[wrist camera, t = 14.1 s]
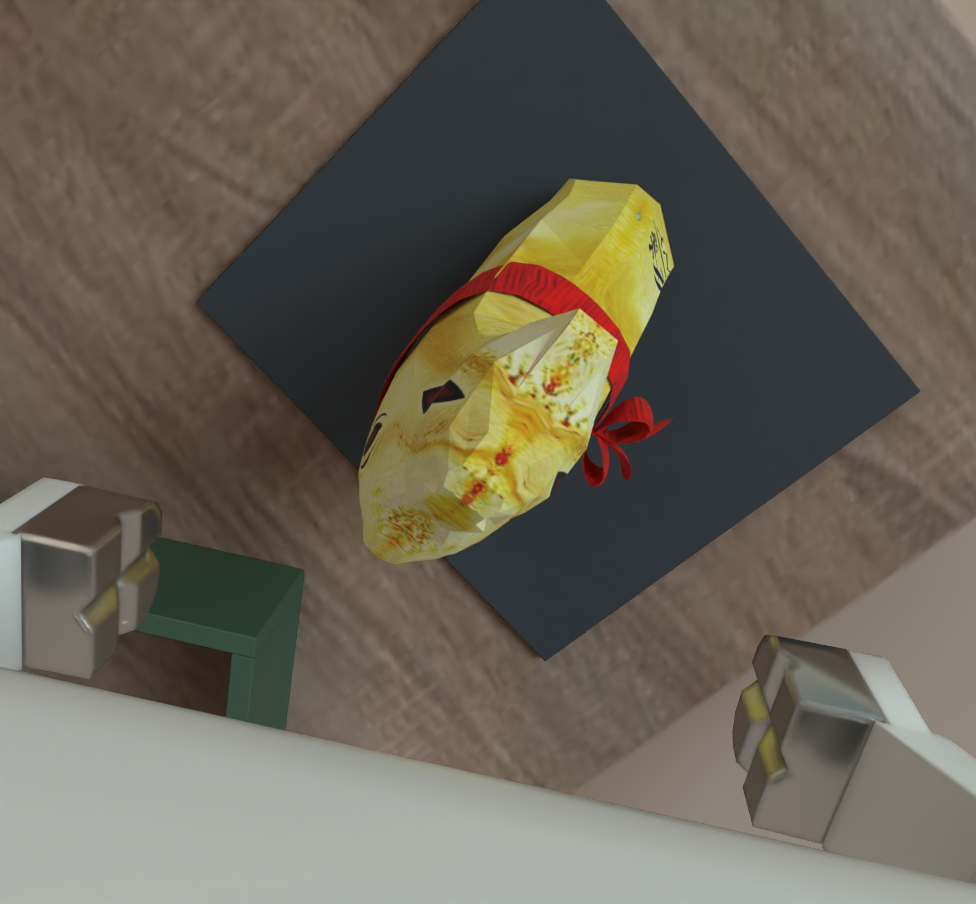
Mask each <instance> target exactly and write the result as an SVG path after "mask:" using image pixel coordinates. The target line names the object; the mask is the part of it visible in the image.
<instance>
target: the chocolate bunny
mask: <svg viewBox="0 0 976 904" xmlns="http://www.w3.org/2000/svg"><path fill="white" fill-rule="evenodd" d="M673 267H674V264H673V259H672V255H671V250H670V246H669V242H668V237H667V233H666V228H665V224H664V219H663V215H662V211H661V206H660V204H659V203H658V202H657V201H655V200H654V199H653V198H652V197H651V196H650V195H648V194H647V193H646V192H645V191H644V190H643V189H642V188H640V187H639V186H638V185H635V184H623V183H612V182H600V181H588V180H576V179H569V180H568V181H567V182H566V183H565V184H564V186H563V187H562V188H561V189H560V190H559V191H558V192H557V193H556V195H555V196H554V197H553V198H552V199H551V200H550V201H549V202H548V203H546V204H545V205H544V206H542V207H541V208H540V209H539V210H537V211H536V212H535V213H533V214H532V215H531V216H530V217H528V218H527V219H526V220H524V221H523V222H522V223H520V224H519V225H518V226H517V227H515V228H514V229H513V230H511V231H510V232H509V233H508V234H506V235H505V236H504V237H503V238H502V240H501V241H500V242H499V243H498V245H497V246H496V247H495V249H494V250H493V251H492V252H491V254H490V255H489V256H488V257H487V259H486V260H485V261H484V263H483V264H482V265H481V266H480V268H479V269H478V270H477V271H476V273H475V274H474V275H473V276H472V278H471V279H470V280H469V282H468V283H466V284H465V285H464V286H462V287H461V288H459V289H458V290H457V291H455V292H454V293H453V294H452V295H451V296H450V297H449V298H448V299H447V300H446V301H445V302H444V303H443V304H442V305H441V306H440V307H439V308H438V309H437V310H436V311H435V312H434V313H433V314H432V315H431V316H430V318H429V319H428V320H427V321H426V323H425V324H424V325H423V326H422V328H421V329H420V330H419V331H418V333H417V334H416V335H415V336H414V338H413V339H412V340H411V342H410V343H409V344H408V346H407V347H406V348H405V350H404V351H403V352H402V354H401V355H400V357H399V358H398V360H397V361H396V363H395V364H394V366H393V368H392V370H391V372H390V374H389V375H388V377H387V379H386V382H385V384H384V387H383V390H382V392H381V395H380V398H379V402H378V406H377V409H376V417H375V419H374V422H373V424H372V427H371V430H370V433H369V435H368V438H367V441H366V445H365V448H364V452H363V456H362V459H361V463H360V467H359V473H358V479H359V496H360V507H361V513H362V519H363V543H364V544H365V545H366V546H367V547H368V548H369V549H370V550H371V552H372V553H373V554H374V555H375V556H376V557H378V558H380V559H383V560H385V561H388V562H390V563H392V564H398V563H405V562H412V561H422V560H433V559H438V558H441V557H443V556H446V555H451V554H455V553H457V552H459V551H461V550H463V549H465V548H468V547H470V546H472V545H474V544H476V543H478V542H480V541H481V540H482V539H484V538H485V537H487V536H488V535H490V534H491V533H493V532H494V531H496V530H497V529H499V528H500V527H501V526H502V525H503V524H505V523H506V522H508V521H509V520H510V519H511V518H513V517H516V516H518V515H520V514H523V513H525V512H527V511H528V510H530V509H531V508H533V507H534V506H536V505H537V504H539V503H541V502H542V501H544V500H545V499H547V498H548V497H550V496H551V494H552V493H553V492H554V490H555V489H556V488H557V487H558V485H559V484H560V483H561V481H562V480H563V479H564V477H565V476H566V475H567V474H568V472H569V471H570V470H571V468H572V467H573V466H574V465H575V463H576V462H577V461H578V459H579V458H580V457H581V456H582V454H583V458H582V463H583V471H584V474H585V477H586V479H587V481H588V483H589V484H590V485H591V487H596V486H599V485H601V484H602V483H603V482H604V480H605V478H606V475H607V472H608V468H609V452H608V446H609V447H611V448H612V449H613V450H614V451H615V452H616V453H617V455H618V456H619V458H620V466H621V472H622V475H623V477H624V479H625V480H628V479H630V477H631V474H632V473H631V467H630V463H629V460H628V458H627V456H626V455H625V453H624V452H623V450H622V449H621V448H620V447H619V446H618V445H617V444H625V443H633V442H637V441H641V440H643V439H645V438H647V437H649V436H652V435H654V434H656V433H657V432H658V431H659V430H661V429H662V428H663V427H664V426H666V425H667V424H668V423H669V421H670V420H671V419H672V418H673V417H672V418H670V419H667V420H665V421H662V422H659V423H655V424H653V414H652V410H651V407H650V405H649V404H648V402H647V401H646V400H645V399H643V398H642V397H632V398H629V399H627V400H624V401H623V402H621V403H620V404H618V405H617V406H616V407H614V408H613V410H612V411H611V412H610V413H609V414H608V415H607V416H606V418H605V419H604V420H603V422H602V423H601V424H600V425H599V427H598V428H596V426H597V425H598V423H599V422H600V421H601V420H602V419H603V418H604V417H605V415H606V414H607V412H608V411H609V409H610V408H611V406H612V405H613V403H614V401H615V400H616V398H617V396H618V395H619V393H620V391H621V390H622V388H623V386H624V384H625V382H626V380H627V378H628V371H629V362H630V357H631V355H632V353H633V351H634V349H635V347H636V345H637V343H638V341H639V339H640V337H641V335H642V333H643V331H644V329H645V327H646V325H647V323H648V321H649V319H650V317H651V315H652V312H653V310H654V307H655V304H656V302H657V299H658V296H659V294H660V291H661V289H662V287H663V285H664V283H665V281H666V279H667V277H668V276H669V274H670V272H671V270H672V269H673ZM441 312H442V314H441V315H440V316H439V317H438V318H437V320H436V321H435V322H434V324H433V325H432V326H431V327H430V329H429V330H428V331H427V333H426V334H425V335H424V336H423V338H422V339H421V340H420V342H419V343H418V344H417V345H416V347H415V348H414V349H413V351H412V352H411V353H410V354H409V356H408V357H407V358H406V356H407V354H408V352H409V351H410V349H411V348H412V347H413V345H414V344H415V342H416V341H417V339H418V338H419V336H420V335H421V334H422V332H423V331H424V330H425V329H426V328H427V326H428V325H429V324H430V323H431V322H432V321H433V320H434V319H435V318H436V317H437V316H438V315H439V314H440V313H441ZM405 358H406V360H405ZM404 360H405V361H404ZM610 394H611V399H610V401H609V403H608V405H607V407H606V408H605V410H604V411H603V413H602V414H601V416H600V417H599V419H598V420H597V421H596V419H597V417H598V415H599V414H600V412H601V410H602V408H603V407H604V405H605V403H606V401H607V400H608V398H609V396H610ZM595 421H596V423H595V424H594V422H595ZM626 421H630V422H629V423H627V424H625V425H624V426H622V427H620V428H618V429H614V430H611V431H608V429H607V428H606V426H608V425H611V424H614V423H616V422H626ZM593 424H594V426H593ZM594 435H595V436H596V437H597V439H598V443H599V446H600V448H601V451H602V458H603V467H599V466H597V465H596V464H594V463H593V462H592V461H591V460H590V459H589V457H588V454H587V446H588V442H589V439H590V437H591V436H594Z"/></svg>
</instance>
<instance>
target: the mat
mask: <svg viewBox="0 0 976 904" xmlns="http://www.w3.org/2000/svg"><path fill="white" fill-rule="evenodd" d="M569 179H576V180H588V181H600V182H612V183H623V184H635V185H638V186H639V187H640V188H642V189H643V190H644V191H645V192H646V193H647V194H648V195H650V196H651V197H652V198H653V199H654V200H655V201H657V202H658V203H659V204H660V206H661V211H662V215H663V219H664V224H665V228H666V233H667V237H668V242H669V246H670V250H671V255H672V259H673V264H674V267H673V269H672V270H671V272H670V274H669V276H668V277H667V279H666V281H665V283H664V285H663V287H662V289H661V291H660V294H659V296H658V299H657V302H656V304H655V307H654V310H653V312H652V315H651V317H650V319H649V321H648V323H647V325H646V327H645V329H644V331H643V333H642V335H641V337H640V339H639V341H638V343H637V345H636V347H635V349H634V351H633V353H632V355H631V357H630V362H629V371H628V378H627V380H626V382H625V384H624V386H623V388H622V390H621V391H620V393H619V395H618V396H617V398H616V400H615V401H614V403H613V405H612V406H611V408H610V409H609V411H608V412H607V414H606V415H605V417H604V418H603V419H602V420H601V421H600V422H599V423H598V425H597V426H596V428H598V427H599V425H600V424H601V423H602V422H603V420H604V419H605V418H606V416H607V415H608V414H609V413H610V412H611V411H612V410H613V408H614V407H616V406H617V405H618V404H620V403H621V402H623V401H624V400H627V399H629V398H632V397H642V398H643V399H645V400H646V401H647V402H648V404H649V405H650V407H651V410H652V414H653V424H655V423H659V422H662V421H665V420H667V419H670V418H672V417H673V418H672V419H671V420H670V421H669V423H668V424H667V425H666V426H664V427H663V428H662V429H661V430H659V431H658V432H657V433H656V434H654V435H652V436H649V437H647V438H645V439H643V440H641V441H637V442H633V443H625V444H617V445H618V446H619V447H620V448H621V449H622V450H623V452H624V453H625V455H626V456H627V458H628V460H629V463H630V467H631V473H632V474H631V477H630V479H628V480H625V479H624V477H623V475H622V472H621V466H620V458H619V456H618V455H617V453H616V452H615V451H614V450H613V449H612V448H611V447H609V446H608V452H609V468H608V472H607V475H606V478H605V480H604V482H603V483H602V484H601V485H599V486H596V487H591V485H590V484H589V483H588V481H587V479H586V477H585V474H584V471H583V463H582V458H583V454H582V456H581V457H580V458H579V459H578V461H577V462H576V463H575V465H574V466H573V467H572V468H571V470H570V471H569V472H568V474H567V475H566V476H565V477H564V479H563V480H562V481H561V483H560V484H559V485H558V487H557V488H556V489H555V490H554V492H553V493H552V494H551V496H550V497H548V498H547V499H545V500H544V501H542V502H541V503H539V504H537V505H536V506H534V507H533V508H531V509H530V510H528V511H527V512H525V513H523V514H520V515H518V516H516V517H513V518H511V519H510V520H509V521H508V522H506V523H505V524H503V525H502V526H501V527H500V528H499V529H497V530H496V531H494V532H493V533H491V534H490V535H488V536H487V537H485V538H484V539H482V540H481V541H480V542H478V543H476V544H474V545H472V546H470V547H468V548H465V549H463V550H461V551H459V552H457V553H455V554H451V555H446V556H443V557H444V558H445V559H446V560H447V561H448V562H449V563H450V564H451V565H452V566H453V567H454V568H455V569H456V570H457V571H458V572H459V573H460V574H461V575H462V576H463V578H464V579H465V580H466V581H467V582H468V583H469V584H470V585H471V586H472V587H473V588H474V589H475V590H476V591H477V592H478V593H479V594H480V595H481V596H482V597H483V598H484V599H485V600H486V601H487V602H488V603H489V604H490V605H491V606H492V607H493V608H494V609H495V610H496V611H497V613H498V614H499V615H500V616H501V617H502V618H503V619H504V620H505V621H506V622H507V623H508V624H509V625H510V626H511V627H512V628H513V629H514V630H515V631H516V632H517V633H518V634H519V635H520V636H521V637H522V638H523V639H524V640H525V641H526V642H527V643H528V644H529V645H530V647H531V648H532V649H533V650H534V651H535V652H536V653H537V654H538V655H539V656H540V657H541V658H542V659H543V660H544V661H546V660H547V659H549V658H550V657H552V656H553V655H554V654H556V653H557V652H559V651H560V650H561V649H563V648H564V647H565V646H567V645H568V644H570V643H571V642H572V641H574V640H575V639H577V638H578V637H579V636H581V635H582V634H584V633H585V632H586V631H588V630H589V629H591V628H592V627H593V626H595V625H596V624H597V623H599V622H600V621H602V620H603V619H604V618H606V617H607V616H609V615H610V614H611V613H613V612H614V611H616V610H617V609H618V608H620V607H621V606H623V605H624V604H625V603H627V602H628V601H629V600H631V599H632V598H634V597H635V596H636V595H638V594H639V593H641V592H642V591H643V590H645V589H646V588H648V587H649V586H650V585H652V584H653V583H655V582H656V581H657V580H659V579H660V578H661V577H663V576H664V575H666V574H667V573H668V572H670V571H671V570H673V569H674V568H675V567H677V566H678V565H680V564H681V563H682V562H684V561H685V560H687V559H688V558H689V557H691V556H692V555H694V554H695V553H696V552H698V551H699V550H700V549H702V548H703V547H705V546H706V545H707V544H709V543H710V542H712V541H713V540H714V539H716V538H717V537H719V536H720V535H721V534H723V533H724V532H726V531H727V530H728V529H730V528H731V527H732V526H734V525H735V524H737V523H738V522H739V521H741V520H742V519H744V518H745V517H746V516H748V515H749V514H751V513H752V512H753V511H755V510H756V509H758V508H759V507H760V506H762V505H763V504H764V503H766V502H767V501H769V500H770V499H771V498H773V497H774V496H776V495H777V494H778V493H780V492H781V491H783V490H784V489H785V488H787V487H788V486H790V485H791V484H792V483H794V482H795V481H797V480H798V479H799V478H801V477H802V476H803V475H805V474H806V473H808V472H809V471H810V470H812V469H813V468H815V467H816V466H817V465H819V464H820V463H822V462H823V461H824V460H826V459H827V458H829V457H830V456H831V455H833V454H834V453H835V452H837V451H838V450H840V449H841V448H842V447H844V446H845V445H847V444H848V443H849V442H851V441H852V440H854V439H855V438H856V437H858V436H859V435H861V434H862V433H863V432H865V431H866V430H867V429H869V428H870V427H872V426H873V425H874V424H876V423H877V422H879V421H880V420H881V419H883V418H884V417H886V416H887V415H888V414H890V413H891V412H893V411H894V410H895V409H897V408H898V407H899V406H901V405H902V404H904V403H905V402H906V401H908V400H909V399H911V398H912V397H913V396H915V395H916V394H918V393H919V392H920V390H919V389H918V387H917V386H916V385H915V384H914V382H913V381H912V380H911V379H910V377H909V376H908V375H907V374H906V372H905V371H904V370H903V369H902V367H901V366H900V365H899V364H898V363H897V361H896V360H895V359H894V358H893V356H892V355H891V354H890V353H889V351H888V350H887V349H886V348H885V346H884V345H883V344H882V343H881V341H880V340H879V339H878V338H877V336H876V335H875V334H874V333H873V331H872V330H871V329H870V328H869V327H868V325H867V324H866V323H865V322H864V320H863V319H862V318H861V317H860V315H859V314H858V313H857V312H856V310H855V309H854V308H853V307H852V305H851V304H850V303H849V302H848V300H847V299H846V298H845V297H844V295H843V294H842V293H841V292H840V291H839V289H838V288H837V287H836V286H835V284H834V283H833V282H832V281H831V279H830V278H829V277H828V276H827V274H826V273H825V272H824V271H823V269H822V268H821V267H820V266H819V264H818V263H817V262H816V261H815V259H814V258H813V257H812V256H811V255H810V253H809V252H808V251H807V250H806V248H805V247H804V246H803V245H802V243H801V242H800V241H799V240H798V238H797V237H796V236H795V235H794V233H793V232H792V231H791V230H790V228H789V227H788V226H787V225H786V223H785V222H784V221H783V220H782V219H781V217H780V216H779V215H778V214H777V212H776V211H775V210H774V209H773V207H772V206H771V205H770V204H769V202H768V201H767V200H766V199H765V197H764V196H763V195H762V194H761V192H760V191H759V190H758V189H757V187H756V186H755V185H754V184H753V183H752V181H751V180H750V179H749V178H748V176H747V175H746V174H745V173H744V171H743V170H742V169H741V168H740V166H739V165H738V164H737V163H736V161H735V160H734V159H733V158H732V156H731V155H730V154H729V153H728V151H727V150H726V149H725V148H724V147H723V145H722V144H721V143H720V142H719V140H718V139H717V138H716V137H715V135H714V134H713V133H712V132H711V130H710V129H709V128H708V127H707V125H706V124H705V123H704V122H703V120H702V119H701V118H700V117H699V115H698V114H697V113H696V112H695V111H694V109H693V108H692V107H691V106H690V104H689V103H688V102H687V101H686V99H685V98H684V97H683V96H682V94H681V93H680V92H679V91H678V89H677V88H676V87H675V86H674V84H673V83H672V82H671V81H670V79H669V78H668V77H667V76H666V75H665V73H664V72H663V71H662V70H661V68H660V67H659V66H658V65H657V63H656V62H655V61H654V60H653V58H652V57H651V56H650V55H649V53H648V52H647V51H646V50H645V48H644V47H643V46H642V45H641V43H640V42H639V41H638V40H637V39H636V37H635V36H634V35H633V34H632V32H631V31H630V30H629V29H628V27H627V26H626V25H625V24H624V22H623V21H622V20H621V19H620V17H619V16H618V15H617V14H616V12H615V11H614V10H613V9H612V7H611V6H610V5H609V4H608V3H607V1H606V0H480V1H479V2H478V3H477V4H476V6H475V7H474V8H473V9H472V10H471V11H470V12H469V13H468V14H467V15H466V16H465V17H464V18H463V19H462V20H461V21H460V22H459V24H458V25H457V26H456V27H455V28H454V29H453V30H452V31H451V32H450V33H449V34H448V35H447V36H446V37H445V38H444V39H443V41H442V42H441V43H440V44H439V45H438V46H437V47H436V48H435V49H434V50H433V51H432V52H431V53H430V54H429V55H428V56H427V58H426V59H425V60H424V61H423V62H422V63H421V64H420V65H419V66H418V67H417V68H416V69H415V70H414V71H413V72H412V73H411V74H410V76H409V77H408V78H407V79H406V80H405V81H404V82H403V83H402V84H401V85H400V86H399V87H398V88H397V89H396V90H395V91H394V93H393V94H392V95H391V96H390V97H389V98H388V99H387V100H386V101H385V102H384V103H383V104H382V105H381V106H380V107H379V108H378V109H377V111H376V112H375V113H374V114H373V115H372V116H371V117H370V118H369V119H368V120H367V121H366V122H365V123H364V124H363V125H362V126H361V128H360V129H359V130H358V131H357V132H356V133H355V134H354V135H353V136H352V137H351V138H350V139H349V140H348V141H347V142H346V143H345V144H344V146H343V147H342V148H341V149H340V150H339V151H338V152H337V153H336V154H335V155H334V156H333V157H332V158H331V159H330V160H329V161H328V163H327V164H326V165H325V166H324V167H323V168H322V169H321V170H320V171H319V172H318V173H317V174H316V175H315V176H314V177H313V178H312V180H311V181H310V182H309V183H308V184H307V185H306V186H305V187H304V188H303V189H302V190H301V191H300V192H299V193H298V194H297V195H296V196H295V198H294V199H293V200H292V201H291V202H290V203H289V204H288V205H287V206H286V207H285V208H284V209H283V210H282V211H281V212H280V213H279V215H278V216H277V217H276V218H275V219H274V220H273V221H272V222H271V223H270V224H269V225H268V226H267V227H266V228H265V229H264V230H263V231H262V233H261V234H260V235H259V236H258V237H257V238H256V239H255V240H254V241H253V242H252V243H251V244H250V245H249V246H248V247H247V248H246V250H245V251H244V252H243V253H242V254H241V255H240V256H239V257H238V258H237V259H236V260H235V261H234V262H233V263H232V264H231V265H230V266H229V268H228V269H227V270H226V271H225V272H224V273H223V274H222V275H221V276H220V277H219V278H218V279H217V280H216V281H215V282H214V283H213V285H212V286H211V287H210V288H209V289H208V290H207V291H206V292H205V293H204V294H203V295H202V296H201V297H200V298H199V299H198V300H197V304H198V305H199V306H200V307H201V308H202V309H203V310H204V311H205V312H206V313H207V314H208V315H209V316H210V317H211V318H212V319H213V320H214V321H215V322H216V323H217V324H218V325H219V326H220V327H221V328H222V329H223V330H224V331H225V332H226V333H227V334H228V336H229V337H230V338H231V339H232V340H233V341H234V342H235V343H236V344H237V345H238V346H239V347H240V348H241V349H242V350H243V351H244V352H245V353H246V354H247V355H248V356H249V357H250V358H251V359H252V360H253V361H254V362H255V363H256V364H257V365H258V366H259V367H260V368H261V369H262V371H263V372H264V373H265V374H266V375H267V376H268V377H269V378H270V379H271V380H272V381H273V382H274V383H275V384H276V385H277V386H278V387H279V388H280V389H281V390H282V391H283V392H284V393H285V394H286V395H287V396H288V397H289V398H290V399H291V400H292V401H293V402H294V403H295V405H296V406H297V407H298V408H299V409H300V410H301V411H302V412H303V413H304V414H305V415H306V416H307V417H308V418H309V419H310V420H311V421H312V422H313V423H314V424H315V425H316V426H317V427H318V428H319V429H320V430H321V431H322V432H323V433H324V434H325V435H326V436H327V437H328V438H329V440H330V441H331V442H332V443H333V444H334V445H335V446H336V447H337V448H338V449H339V450H340V451H341V452H342V453H343V454H344V455H345V456H346V457H347V458H348V459H349V460H350V461H351V462H352V463H353V464H354V465H355V466H356V467H357V468H358V469H359V467H360V463H361V459H362V456H363V452H364V448H365V445H366V441H367V438H368V435H369V433H370V430H371V427H372V424H373V422H374V419H375V417H376V409H377V406H378V402H379V398H380V395H381V392H382V390H383V387H384V384H385V382H386V379H387V377H388V375H389V374H390V372H391V370H392V368H393V366H394V364H395V363H396V361H397V360H398V358H399V357H400V355H401V354H402V352H403V351H404V350H405V348H406V347H407V346H408V344H409V343H410V342H411V340H412V339H413V338H414V336H415V335H416V334H417V333H418V331H419V330H420V329H421V328H422V326H423V325H424V324H425V323H426V321H427V320H428V319H429V318H430V316H431V315H432V314H433V313H434V312H435V311H436V310H437V309H438V308H439V307H440V306H441V305H442V304H443V303H444V302H445V301H446V300H447V299H448V298H449V297H450V296H451V295H452V294H453V293H454V292H455V291H457V290H458V289H459V288H461V287H462V286H464V285H465V284H466V283H468V282H469V280H470V279H471V278H472V276H473V275H474V274H475V273H476V271H477V270H478V269H479V268H480V266H481V265H482V264H483V263H484V261H485V260H486V259H487V257H488V256H489V255H490V254H491V252H492V251H493V250H494V249H495V247H496V246H497V245H498V243H499V242H500V241H501V240H502V238H503V237H504V236H505V235H506V234H508V233H509V232H510V231H511V230H513V229H514V228H515V227H517V226H518V225H519V224H520V223H522V222H523V221H524V220H526V219H527V218H528V217H530V216H531V215H532V214H533V213H535V212H536V211H537V210H539V209H540V208H541V207H542V206H544V205H545V204H546V203H548V202H549V201H550V200H551V199H552V198H553V197H554V196H555V195H556V193H557V192H558V191H559V190H560V189H561V188H562V187H563V186H564V184H565V183H566V182H567V181H568V180H569ZM441 314H442V312H441V313H440V314H439V315H438V316H437V317H436V318H435V319H434V320H433V321H432V322H431V323H430V324H429V325H428V326H427V328H426V329H425V330H424V331H423V332H422V334H421V335H420V336H419V338H418V339H417V341H416V342H415V344H414V345H413V347H412V348H411V349H410V351H409V352H408V354H407V356H406V358H407V357H408V356H409V354H410V353H411V352H412V351H413V349H414V348H415V347H416V345H417V344H418V343H419V342H420V340H421V339H422V338H423V336H424V335H425V334H426V333H427V331H428V330H429V329H430V327H431V326H432V325H433V324H434V322H435V321H436V320H437V318H438V317H439V316H440V315H441ZM406 358H405V360H406ZM405 360H404V361H405ZM610 399H611V394H610V396H609V398H608V400H607V401H606V403H605V405H604V407H603V408H602V410H601V412H600V414H599V415H598V417H597V419H596V421H597V420H598V419H599V417H600V416H601V414H602V413H603V411H604V410H605V408H606V407H607V405H608V403H609V401H610ZM596 421H595V422H594V424H595V423H596ZM629 422H630V421H626V422H616V423H614V424H611V425H608V426H606V428H607V429H608V431H611V430H614V429H618V428H620V427H622V426H624V425H625V424H627V423H629ZM594 424H593V426H594ZM587 454H588V457H589V459H590V460H591V461H592V462H593V463H594V464H596V465H597V466H599V467H603V458H602V451H601V448H600V446H599V443H598V439H597V437H596V436H595V435H594V436H591V437H590V439H589V442H588V446H587Z"/></svg>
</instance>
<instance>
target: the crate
mask: <svg viewBox="0 0 976 904" xmlns="http://www.w3.org/2000/svg"><path fill="white" fill-rule="evenodd" d="M1 503H3V502H0V504H1ZM150 548H151V550H152V551H153V553H154V555H155V556H156V558H157V560H158V561H159V563H160V571H159V582H158V586H157V591H156V595H155V599H154V601H153V603H152V605H151V607H150V609H149V611H148V614H147V616H146V617H145V619H144V620H143V621H142V622H141V623H140V624H139V626H138V627H137V628H136V629H135V630H134V631H138V632H143V633H147V634H151V635H156V636H160V637H165V638H169V639H173V640H178V641H182V642H186V643H191V644H195V645H199V646H204V647H208V648H212V649H217V650H221V651H225V652H230V653H232V655H231V665H230V676H229V687H228V698H227V708H226V717H227V718H232V719H236V720H241V721H245V722H249V723H254V724H258V725H263V726H267V727H272V728H276V729H281V730H285V727H286V719H287V711H288V703H289V694H290V686H291V678H292V670H293V662H294V654H295V645H296V637H297V629H298V621H299V613H300V605H301V597H302V587H303V580H304V570H303V569H298V568H294V567H289V566H285V565H280V564H276V563H271V562H267V561H262V560H258V559H253V558H249V557H244V556H240V555H236V554H231V553H227V552H222V551H218V550H213V549H209V548H204V547H200V546H195V545H191V544H186V543H182V542H177V541H173V540H168V539H164V538H160V537H158V538H157V539H156V540H155V541H154V542H153V543H152V544H151V545H150Z"/></svg>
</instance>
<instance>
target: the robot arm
mask: <svg viewBox="0 0 976 904" xmlns="http://www.w3.org/2000/svg"><path fill="white" fill-rule="evenodd" d="M161 534H162V511H161V509H160V507H159V505H158V503H157V502H153V501H149V500H145V499H140V498H136V497H132V496H128V495H123V494H119V493H115V492H111V491H106V490H102V489H98V488H94V487H89V486H84V485H83V484H79V483H74V482H68V481H63V480H58V479H52V478H41V479H40V480H38V481H36V482H35V483H33V484H32V485H30V486H28V487H27V488H25V489H24V490H22V491H20V492H19V493H17V494H15V495H14V496H12V497H11V498H9V499H7V500H6V501H4V502H3V503H1V504H0V904H976V759H975V758H974V757H972V756H971V755H969V754H968V753H967V752H965V751H964V750H962V749H961V748H960V747H958V746H957V745H955V744H954V743H953V742H951V741H950V740H948V739H947V738H946V737H944V736H941V735H936V734H932V733H931V732H930V731H929V729H928V727H927V726H926V724H925V722H924V721H923V719H922V717H921V716H920V714H919V712H918V711H917V709H916V707H915V705H914V704H913V702H912V700H911V699H910V697H909V696H908V694H907V692H906V690H905V689H904V687H903V685H902V684H901V682H900V680H899V679H898V677H897V675H896V674H895V672H894V670H893V669H892V667H891V665H890V664H889V662H888V660H886V659H884V658H883V657H881V656H878V655H872V654H867V653H861V652H855V651H849V650H846V649H842V648H837V647H832V646H826V645H821V644H816V643H811V642H805V641H800V640H795V639H790V638H785V637H779V636H774V635H765V636H764V637H763V639H762V640H761V642H760V644H759V645H758V647H757V650H756V653H755V656H754V658H753V661H752V663H753V667H754V670H755V673H756V676H757V679H758V680H757V681H755V682H754V683H752V684H751V685H749V686H748V687H746V688H745V689H744V690H742V692H741V696H740V699H739V702H738V705H737V708H736V711H735V718H734V725H733V749H734V753H735V758H736V762H737V763H738V764H739V765H740V766H741V767H742V768H743V769H744V770H745V771H746V772H747V773H748V774H747V777H746V780H745V783H744V785H743V790H744V794H745V798H746V802H747V806H748V809H749V813H750V817H751V821H752V825H753V827H756V828H760V829H764V830H768V831H772V832H776V833H780V834H784V835H788V836H792V837H796V838H800V839H804V840H808V841H812V842H816V843H820V844H823V845H822V848H823V849H824V850H825V851H824V850H820V849H815V848H811V847H806V846H802V845H797V844H793V843H788V842H784V841H779V840H775V839H770V838H766V837H761V836H756V835H752V834H748V833H743V832H739V831H734V830H730V829H725V828H721V827H716V826H712V825H707V824H703V823H698V822H694V821H689V820H685V819H680V818H676V817H671V816H667V815H662V814H658V813H653V812H649V811H644V810H640V809H635V808H631V807H626V806H622V805H617V804H613V803H608V802H604V801H599V800H595V799H590V798H586V797H582V796H577V795H573V794H568V793H564V792H559V791H555V790H550V789H546V788H541V787H537V786H532V785H528V784H523V783H519V782H514V781H510V780H505V779H501V778H496V777H492V776H487V775H483V774H478V773H474V772H469V771H465V770H460V769H456V768H451V767H447V766H442V765H438V764H433V763H429V762H424V761H420V760H415V759H411V758H406V757H402V756H397V755H393V754H388V753H384V752H380V751H375V750H371V749H366V748H362V747H357V746H353V745H348V744H344V743H339V742H335V741H330V740H326V739H321V738H317V737H312V736H308V735H303V734H299V733H294V732H290V731H285V730H281V729H276V728H272V727H267V726H263V725H258V724H254V723H249V722H245V721H241V720H236V719H232V718H227V717H223V716H218V715H214V714H209V713H205V712H200V711H196V710H191V709H187V708H182V707H178V706H173V705H169V704H164V703H160V702H155V701H151V700H146V699H142V698H137V697H133V696H128V695H124V694H119V693H115V692H110V691H106V690H102V689H97V688H93V687H88V686H84V685H79V684H75V683H70V682H66V681H61V680H57V679H52V678H48V677H43V676H39V675H34V674H30V673H25V672H21V671H19V670H22V666H24V667H30V668H35V669H40V670H45V671H50V672H55V673H61V674H66V675H71V676H76V677H81V678H86V679H90V678H91V677H92V676H93V675H94V674H95V673H96V672H97V671H98V670H99V669H100V667H101V666H102V665H103V664H104V663H105V662H106V661H107V660H108V659H109V658H110V657H111V656H112V654H113V653H114V652H115V651H116V650H117V649H118V635H121V634H124V633H127V632H130V631H133V630H135V629H136V628H137V627H138V626H139V624H140V623H141V622H142V621H143V620H144V619H145V617H146V616H147V614H148V611H149V609H150V607H151V605H152V603H153V601H154V599H155V595H156V591H157V586H158V582H159V571H160V563H159V561H158V560H157V558H156V556H155V555H154V553H153V551H152V550H151V548H150V545H151V544H152V543H153V542H154V541H155V540H156V539H157V538H158V537H159V536H160V535H161Z"/></svg>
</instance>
